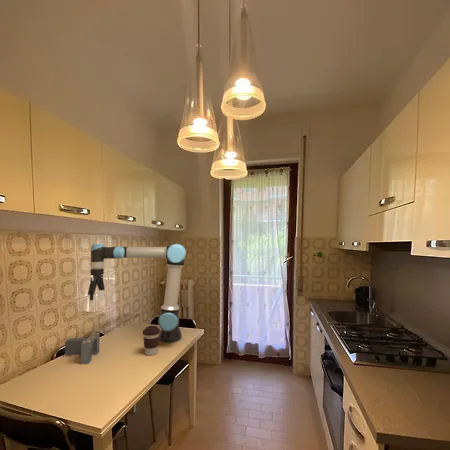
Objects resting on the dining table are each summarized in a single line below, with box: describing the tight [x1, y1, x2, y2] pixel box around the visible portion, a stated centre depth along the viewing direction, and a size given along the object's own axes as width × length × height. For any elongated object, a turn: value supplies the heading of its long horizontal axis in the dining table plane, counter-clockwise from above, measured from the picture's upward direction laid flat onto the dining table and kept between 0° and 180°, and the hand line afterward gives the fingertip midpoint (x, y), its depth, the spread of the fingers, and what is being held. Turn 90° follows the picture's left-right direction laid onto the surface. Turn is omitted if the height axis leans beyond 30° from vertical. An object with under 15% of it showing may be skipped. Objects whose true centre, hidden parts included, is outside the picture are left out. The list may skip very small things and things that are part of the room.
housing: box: [80, 332, 100, 365], centre depth 149 cm, size 4×16×11 cm, turn 6°
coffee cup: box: [142, 325, 161, 357], centre depth 154 cm, size 10×10×15 cm
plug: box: [64, 337, 88, 357], centre depth 155 cm, size 13×5×8 cm, turn 97°
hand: (96, 303), depth 161 cm, fingers open, 13 cm apart
